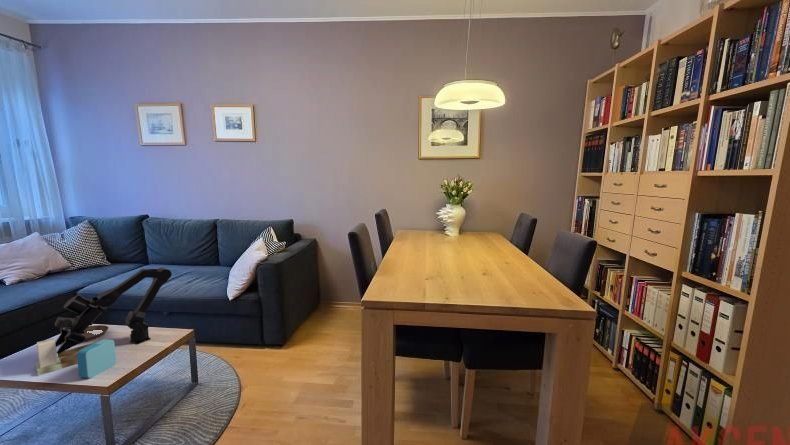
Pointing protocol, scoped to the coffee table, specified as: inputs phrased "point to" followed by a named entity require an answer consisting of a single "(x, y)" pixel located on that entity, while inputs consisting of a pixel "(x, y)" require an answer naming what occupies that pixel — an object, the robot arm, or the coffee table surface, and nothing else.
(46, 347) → the cream block
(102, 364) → the data package
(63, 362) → the walnut channel
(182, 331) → the coffee table surface
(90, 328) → the plant saucer
